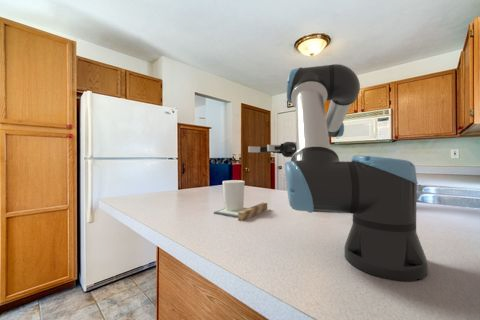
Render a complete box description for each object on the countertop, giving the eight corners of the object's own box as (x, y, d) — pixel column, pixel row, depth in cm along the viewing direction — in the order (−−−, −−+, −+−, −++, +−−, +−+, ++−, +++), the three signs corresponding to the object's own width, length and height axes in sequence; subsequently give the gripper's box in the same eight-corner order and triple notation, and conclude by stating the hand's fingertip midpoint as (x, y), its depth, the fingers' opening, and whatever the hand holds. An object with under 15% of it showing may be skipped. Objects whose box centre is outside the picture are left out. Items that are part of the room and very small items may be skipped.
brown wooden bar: (242, 221, 80) (242, 212, 80) (238, 220, 82) (238, 212, 82) (267, 209, 97) (267, 202, 97) (263, 209, 98) (263, 202, 98)
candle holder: (221, 206, 100) (221, 180, 100) (242, 205, 102) (242, 179, 102) (223, 212, 91) (223, 183, 90) (247, 210, 92) (246, 182, 92)
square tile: (239, 218, 84) (239, 216, 84) (213, 213, 91) (213, 211, 91) (256, 211, 95) (256, 209, 95) (232, 207, 102) (232, 205, 102)
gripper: (312, 156, 98) (277, 156, 87) (274, 157, 119) (242, 157, 107) (312, 139, 98) (277, 137, 87) (274, 143, 119) (241, 142, 107)
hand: (257, 148), depth 97 cm, fingers open, 13 cm apart
